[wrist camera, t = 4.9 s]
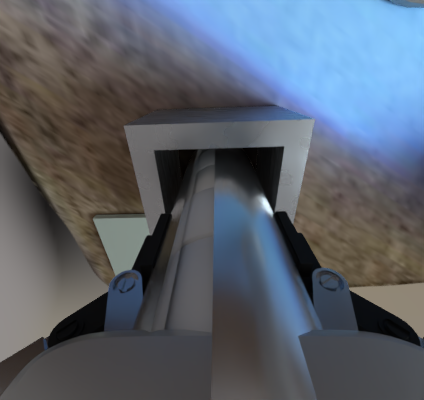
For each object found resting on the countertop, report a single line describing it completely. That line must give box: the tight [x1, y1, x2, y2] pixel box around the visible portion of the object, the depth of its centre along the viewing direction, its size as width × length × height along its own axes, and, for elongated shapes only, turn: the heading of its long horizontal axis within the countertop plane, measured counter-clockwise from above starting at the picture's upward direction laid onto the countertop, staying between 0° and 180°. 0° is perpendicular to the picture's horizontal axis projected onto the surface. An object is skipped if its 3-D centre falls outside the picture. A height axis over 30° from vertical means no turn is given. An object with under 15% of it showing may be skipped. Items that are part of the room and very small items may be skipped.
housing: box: [124, 105, 315, 235], centre depth 18 cm, size 11×11×8 cm
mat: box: [93, 214, 150, 275], centre depth 27 cm, size 10×10×1 cm
